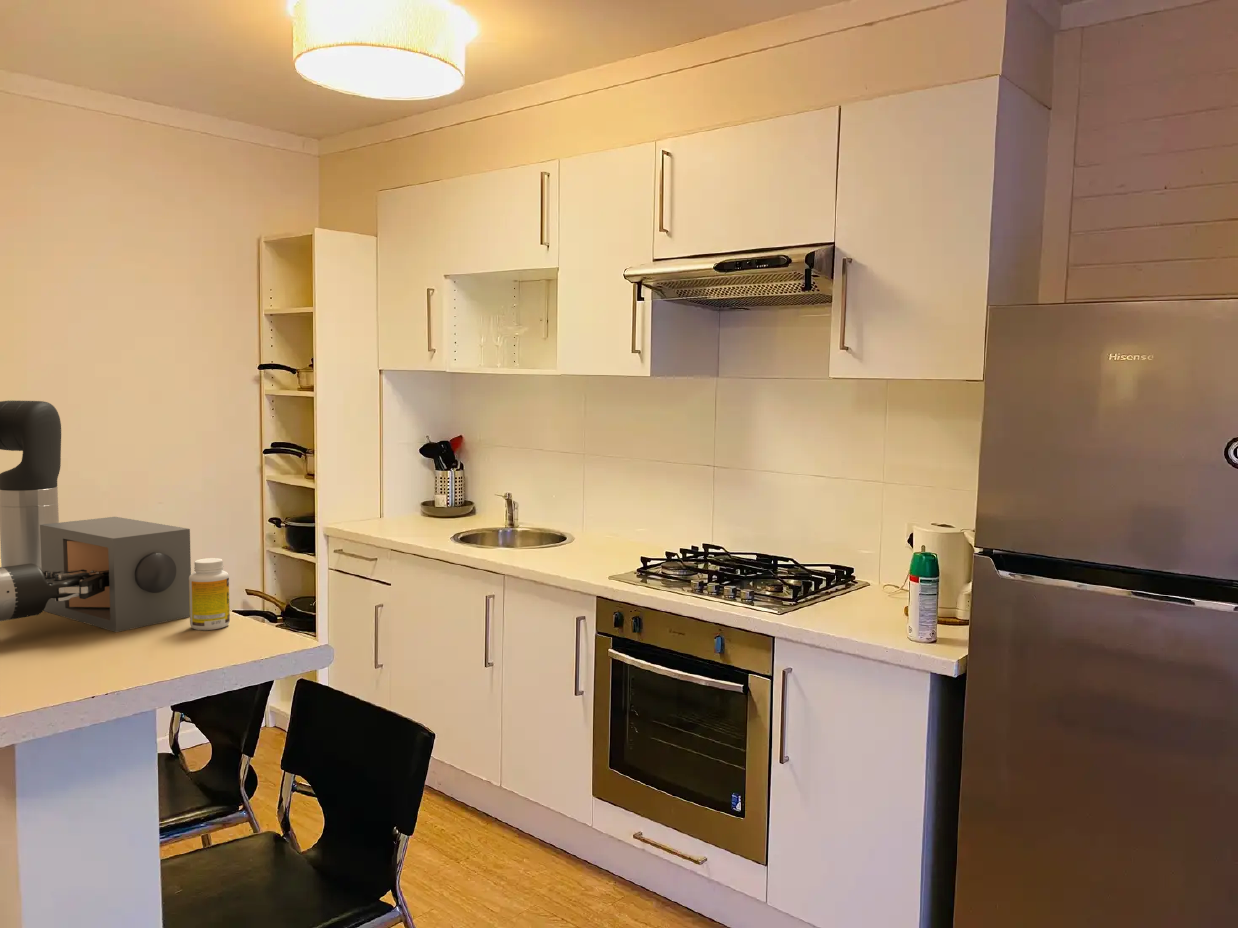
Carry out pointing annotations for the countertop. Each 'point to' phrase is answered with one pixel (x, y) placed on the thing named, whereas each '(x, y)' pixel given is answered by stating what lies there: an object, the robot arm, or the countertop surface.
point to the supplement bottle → (209, 595)
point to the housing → (126, 570)
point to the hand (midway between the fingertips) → (124, 575)
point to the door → (88, 560)
